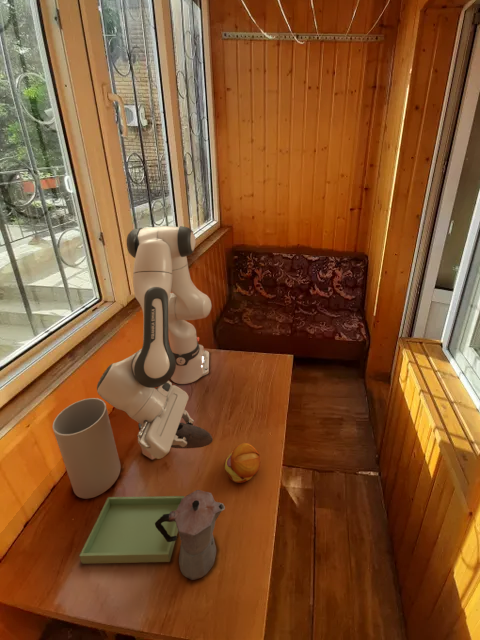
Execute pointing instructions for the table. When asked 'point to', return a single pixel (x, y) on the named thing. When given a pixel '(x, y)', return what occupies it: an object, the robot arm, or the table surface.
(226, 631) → the table surface
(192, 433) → the perforated stone tool
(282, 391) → the table surface
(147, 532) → the tray
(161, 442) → the robot arm
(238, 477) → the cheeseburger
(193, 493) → the moka pot
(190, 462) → the table surface
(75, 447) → the cylinder vase
